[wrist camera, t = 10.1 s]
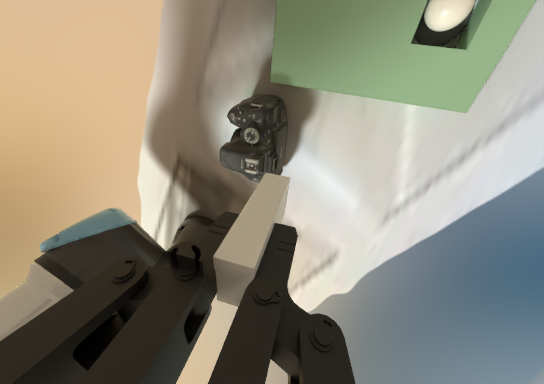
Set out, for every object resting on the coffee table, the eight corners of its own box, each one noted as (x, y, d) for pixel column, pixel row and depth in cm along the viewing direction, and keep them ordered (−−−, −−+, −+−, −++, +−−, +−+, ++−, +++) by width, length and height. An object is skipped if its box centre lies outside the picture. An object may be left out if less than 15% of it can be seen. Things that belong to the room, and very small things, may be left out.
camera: (227, 104, 35) (192, 119, 27) (282, 85, 31) (261, 95, 23) (254, 174, 41) (233, 204, 33) (304, 165, 37) (293, 196, 29)
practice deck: (275, 79, 31) (269, 81, 29) (294, -109, 21) (288, -130, 19) (455, 107, 27) (466, 113, 25) (580, -109, 17) (618, -135, 15)
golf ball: (438, 35, 24) (408, 29, 23) (459, -12, 22) (427, -21, 21) (470, 33, 21) (437, 26, 20) (499, -23, 19) (463, -33, 18)
